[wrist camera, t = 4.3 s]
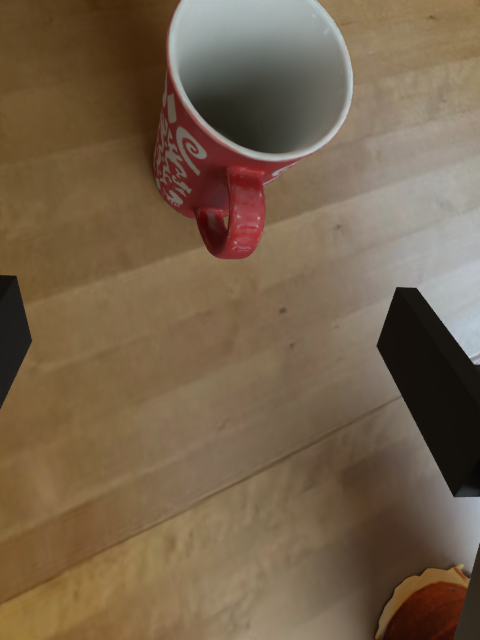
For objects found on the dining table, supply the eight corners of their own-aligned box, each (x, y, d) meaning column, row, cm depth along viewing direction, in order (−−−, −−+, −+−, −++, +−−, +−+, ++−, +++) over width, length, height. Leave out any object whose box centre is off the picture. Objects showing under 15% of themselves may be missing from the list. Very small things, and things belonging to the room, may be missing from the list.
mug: (144, 97, 32) (176, -66, 19) (262, 126, 35) (360, -1, 22) (127, 271, 31) (149, 223, 18) (250, 287, 34) (344, 254, 21)
